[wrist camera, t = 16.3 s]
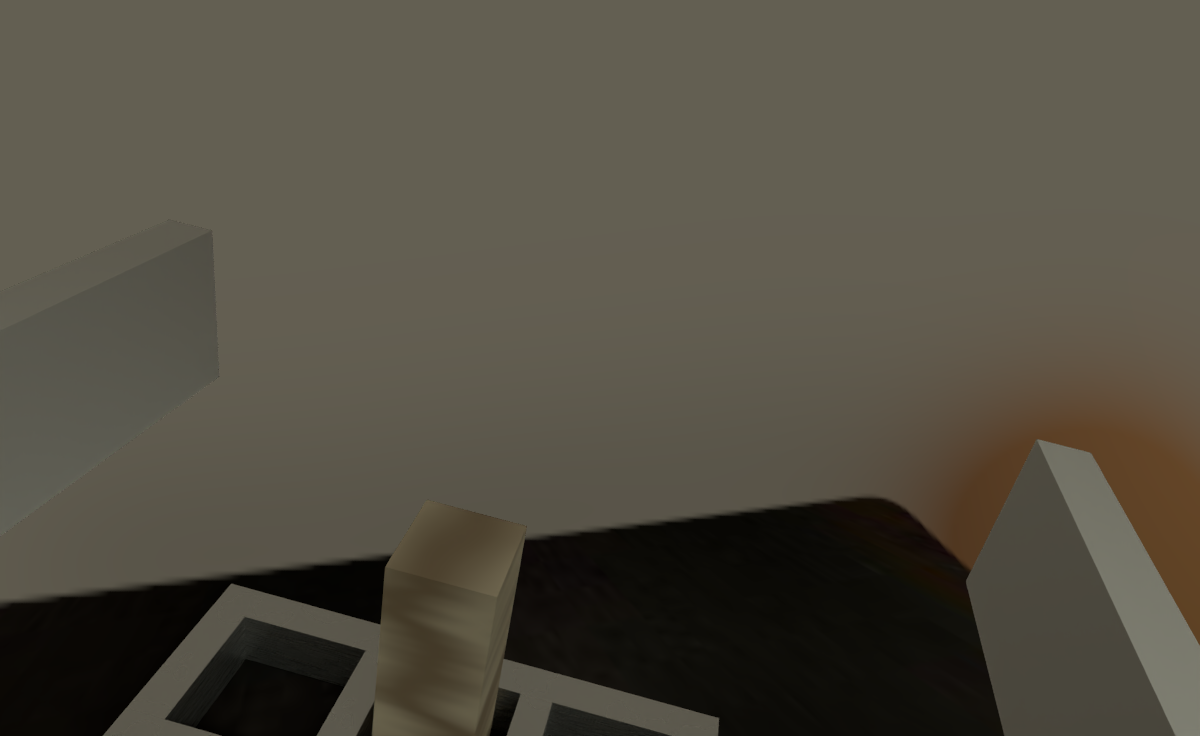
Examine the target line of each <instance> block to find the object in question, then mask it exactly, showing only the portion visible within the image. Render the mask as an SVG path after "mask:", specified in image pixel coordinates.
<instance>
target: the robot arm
mask: <svg viewBox="0 0 1200 736" xmlns="http://www.w3.org/2000/svg"><path fill="white" fill-rule="evenodd" d="M213 260H214V259H213V238H212V230H208V229H204V228H200V227H196V226H193V225H188V224H185V223H181V222H177V221H173V220H167V221H165V222H163V223H160V224H158V225H156V226H153V227H151V228H148V229H146V230H144V231H141V232H139V233H137V234H134V235H132V236H130V237H127V238H125V239H123V240H121V241H118V242H115V243H113V244H111V245H109V246H106V247H104V248H102V249H99V250H97V251H94V252H92V253H90V254H87V255H85V256H83V257H80V258H78V259H75V260H73V261H71V262H69V263H66V264H64V265H61V266H59V267H57V268H54V269H52V270H50V271H47V272H45V273H43V274H40V275H38V276H35V277H33V278H31V279H28V280H26V281H24V282H21V283H19V284H17V285H14V286H12V287H9V288H7V289H5V290H2V291H0V536H1V535H2V534H4V533H5V532H7V531H8V530H9V529H10V528H12V527H13V526H15V525H16V524H18V523H19V522H20V521H22V520H23V519H24V518H26V517H27V516H28V515H30V514H31V513H33V512H34V511H35V510H37V509H38V508H40V507H41V506H42V505H44V504H45V503H46V502H48V501H49V500H51V499H52V498H53V497H55V496H56V495H57V494H59V493H60V492H61V491H63V490H64V489H65V488H67V487H68V486H70V485H71V484H73V483H74V482H75V481H77V480H78V479H79V478H81V477H82V476H84V475H85V474H86V473H87V472H89V471H90V470H92V469H93V468H94V467H96V466H97V465H99V464H100V463H101V462H103V461H104V460H106V459H107V458H108V457H110V456H111V455H112V454H114V453H115V452H116V451H118V450H119V449H121V448H122V447H123V446H125V445H126V444H127V443H129V442H130V441H132V440H133V439H134V438H136V437H137V436H138V435H140V434H141V433H143V432H144V431H145V430H147V429H148V428H149V427H151V426H152V425H154V424H155V423H156V422H158V421H159V420H160V419H162V418H163V417H164V416H166V415H167V414H168V413H170V412H171V411H173V410H174V409H176V408H177V407H178V406H180V405H181V404H182V403H184V402H185V401H186V400H188V399H189V398H191V397H192V396H193V395H195V394H196V393H198V392H199V391H200V390H202V389H203V388H204V387H206V386H207V385H209V384H210V383H211V382H212V381H214V380H215V379H217V378H218V377H219V362H218V342H217V321H216V302H215V280H214V261H213ZM966 584H967V588H968V592H969V596H970V600H971V604H972V608H973V612H974V616H975V620H976V624H977V628H978V632H979V636H980V640H981V644H982V648H983V652H984V656H985V660H986V664H987V667H988V671H989V675H990V679H991V683H992V687H993V691H994V695H995V699H996V703H997V707H998V711H999V715H1000V719H1001V723H1002V727H1003V731H1004V735H1005V736H1200V646H1199V644H1198V642H1197V641H1196V639H1195V637H1194V635H1193V633H1192V632H1191V630H1190V628H1189V626H1188V625H1187V623H1186V621H1185V619H1184V617H1183V616H1182V614H1181V612H1180V610H1179V609H1178V607H1177V605H1176V603H1175V602H1174V600H1173V598H1172V596H1171V594H1170V593H1169V591H1168V589H1167V587H1166V585H1165V584H1164V582H1163V580H1162V578H1161V577H1160V575H1159V573H1158V571H1157V569H1156V568H1155V566H1154V564H1153V562H1152V561H1151V559H1150V557H1149V556H1148V553H1147V552H1146V550H1145V548H1144V546H1143V545H1142V543H1141V541H1140V539H1139V538H1138V536H1137V534H1136V532H1135V530H1134V529H1133V527H1132V525H1131V523H1130V522H1129V520H1128V518H1127V516H1126V515H1125V513H1124V511H1123V509H1122V507H1121V506H1120V504H1119V502H1118V500H1117V498H1116V497H1115V495H1114V493H1113V491H1112V489H1111V488H1110V486H1109V484H1108V482H1107V481H1106V479H1105V477H1104V475H1103V473H1102V472H1101V470H1100V468H1099V467H1098V465H1097V463H1096V461H1095V459H1094V457H1093V456H1092V454H1091V453H1089V452H1085V451H1081V450H1077V449H1073V448H1069V447H1065V446H1061V445H1057V444H1054V443H1049V442H1045V441H1041V440H1036V442H1035V444H1034V446H1033V448H1032V450H1031V452H1030V454H1029V456H1028V458H1027V460H1026V462H1025V464H1024V466H1023V468H1022V470H1021V472H1020V474H1019V476H1018V478H1017V480H1016V482H1015V484H1014V486H1013V488H1012V490H1011V492H1010V494H1009V496H1008V498H1007V500H1006V502H1005V504H1004V506H1003V508H1002V510H1001V512H1000V514H999V516H998V518H997V520H996V522H995V524H994V526H993V528H992V530H991V532H990V534H989V536H988V538H987V540H986V542H985V544H984V546H983V548H982V551H981V552H980V554H979V556H978V558H977V560H976V562H975V564H974V566H973V568H972V570H971V572H970V574H969V576H968V578H967V580H966Z"/></svg>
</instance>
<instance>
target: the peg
mask: <svg viewBox="0 0 1200 736" xmlns="http://www.w3.org/2000/svg"><path fill="white" fill-rule="evenodd" d="M526 528H527V526H525V525H521V524H517V523H513V522H510V521H506V520H502V519H498V518H494V517H491V516H487V515H483V514H479V513H475V512H471V511H468V510H464V509H460V508H456V507H453V506H448V505H445V504H441V503H437V502H434V501H430V500H426V502H425V503H424V505H423V507H422V508H421V510H420V511H419V513H418V515H417V516H416V518H415V520H414V521H413V523H412V524H411V526H410V528H409V529H408V531H407V533H406V534H405V536H404V537H403V539H402V541H401V542H400V544H399V546H398V547H397V549H396V550H395V552H394V553H393V555H392V557H391V558H390V560H389V562H388V563H387V565H386V566H385V575H384V588H383V601H382V613H381V626H380V639H379V651H378V664H377V677H376V690H375V702H374V715H373V728H372V736H490V732H491V727H492V721H493V715H494V710H495V704H496V698H497V693H498V687H499V681H500V676H501V670H502V664H503V659H504V653H505V647H506V642H507V636H508V630H509V625H510V619H511V613H512V608H513V602H514V596H515V591H516V585H517V579H518V574H519V568H520V562H521V557H522V551H523V545H524V540H525V534H526Z"/></svg>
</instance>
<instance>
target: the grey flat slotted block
mask: <svg viewBox="0 0 1200 736" xmlns="http://www.w3.org/2000/svg"><path fill="white" fill-rule="evenodd" d="M380 626H381V625H379V624H376V623H372V622H368V621H365V620H361V619H358V618H354V617H350V616H347V615H343V614H339V613H336V612H332V611H329V610H325V609H321V608H318V607H314V606H310V605H307V604H303V603H300V602H296V601H292V600H289V599H285V598H282V597H278V596H274V595H271V594H267V593H263V592H260V591H256V590H253V589H249V588H245V587H242V586H238V585H234V584H231V585H230V586H229V587H228V588H227V589H226V591H225V592H224V593H223V594H222V595H221V597H220V598H219V599H218V600H217V601H216V602H215V604H214V605H213V606H212V607H211V608H210V610H209V611H208V612H207V613H206V614H205V616H204V617H203V618H202V619H201V620H200V621H199V623H198V624H197V625H196V626H195V627H194V629H193V630H192V631H191V632H190V633H189V634H188V636H187V637H186V638H185V639H184V640H183V642H182V643H181V644H180V645H179V646H178V647H177V649H176V650H175V651H174V652H173V653H172V655H171V656H170V657H169V658H168V659H167V660H166V662H165V663H164V664H163V665H162V666H161V668H160V669H159V670H158V671H157V672H156V673H155V675H154V676H153V677H152V678H151V679H150V681H149V682H148V683H147V684H146V685H145V686H144V688H143V689H142V690H141V691H140V692H139V694H138V695H137V696H136V697H135V698H134V699H133V701H132V702H131V703H130V704H129V705H128V707H127V708H126V709H125V710H124V711H123V712H122V714H121V715H120V716H119V717H118V718H117V720H116V721H115V722H114V723H113V724H112V725H111V727H110V728H109V729H108V730H107V731H106V733H105V734H104V735H103V736H220V735H217V734H214V733H210V732H207V731H203V730H200V729H196V728H195V727H196V726H197V725H198V723H199V722H200V721H201V719H202V718H203V717H204V715H205V714H206V713H207V711H208V710H209V708H210V707H211V706H212V704H213V703H214V702H215V700H216V699H217V698H218V696H219V695H220V694H221V692H222V691H223V689H224V688H225V687H226V685H227V684H228V683H229V681H230V680H231V679H232V677H233V676H234V674H235V673H236V672H237V670H238V669H239V668H240V666H241V665H242V664H243V662H244V661H245V660H246V659H248V660H251V661H255V662H258V663H262V664H266V665H269V666H273V667H276V668H280V669H283V670H287V671H290V672H294V673H297V674H301V675H304V676H308V677H311V678H315V679H319V680H322V681H326V682H329V683H333V684H336V685H340V686H343V687H344V689H343V691H342V693H341V694H340V696H339V698H338V700H337V701H336V703H335V705H334V707H333V708H332V710H331V712H330V713H329V715H328V717H327V719H326V720H325V722H324V724H323V726H322V727H321V729H320V731H319V733H318V734H317V736H372V728H373V715H374V702H375V690H376V677H377V664H378V651H379V639H380ZM718 726H719V718H716V717H713V716H709V715H705V714H702V713H698V712H694V711H691V710H687V709H684V708H680V707H676V706H673V705H669V704H665V703H662V702H658V701H655V700H651V699H647V698H644V697H640V696H636V695H633V694H629V693H626V692H622V691H618V690H615V689H611V688H608V687H604V686H600V685H597V684H593V683H589V682H586V681H582V680H579V679H575V678H571V677H568V676H564V675H560V674H557V673H553V672H550V671H546V670H542V669H539V668H535V667H531V666H528V665H524V664H521V663H517V662H513V661H510V660H506V659H503V664H502V670H501V676H500V681H499V687H498V693H497V698H496V704H495V710H494V715H493V721H492V727H491V728H492V729H495V730H499V731H502V732H506V733H507V736H718Z"/></svg>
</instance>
